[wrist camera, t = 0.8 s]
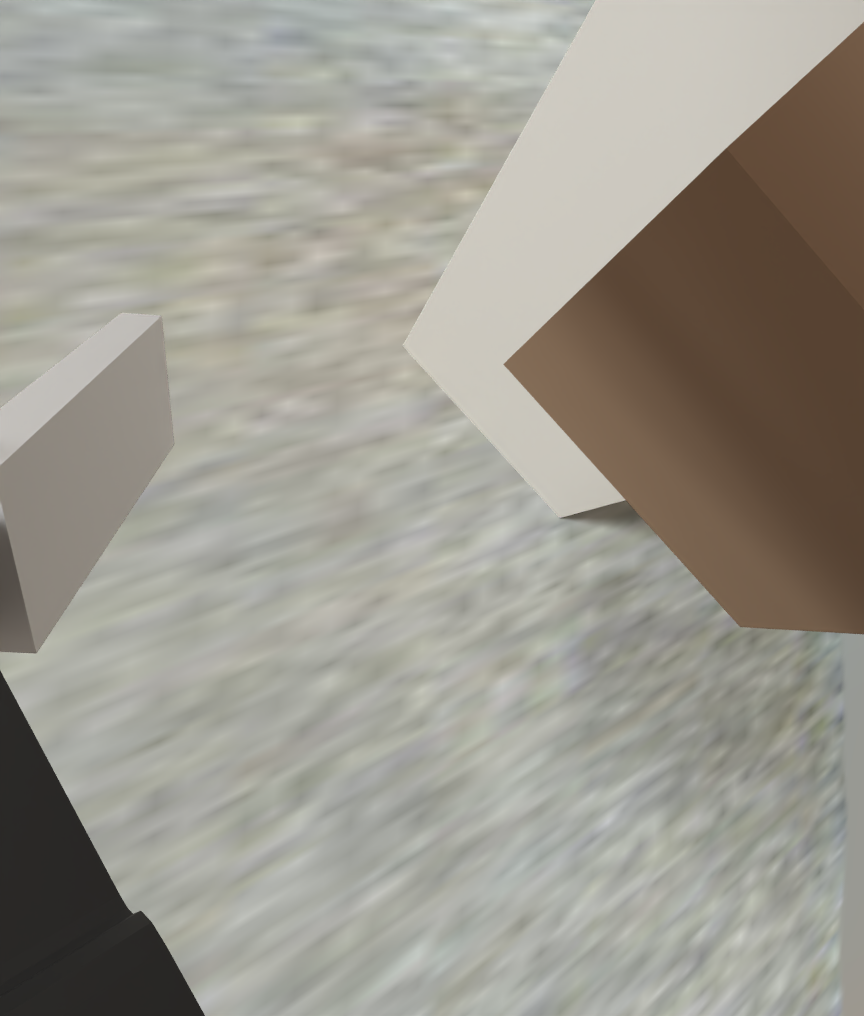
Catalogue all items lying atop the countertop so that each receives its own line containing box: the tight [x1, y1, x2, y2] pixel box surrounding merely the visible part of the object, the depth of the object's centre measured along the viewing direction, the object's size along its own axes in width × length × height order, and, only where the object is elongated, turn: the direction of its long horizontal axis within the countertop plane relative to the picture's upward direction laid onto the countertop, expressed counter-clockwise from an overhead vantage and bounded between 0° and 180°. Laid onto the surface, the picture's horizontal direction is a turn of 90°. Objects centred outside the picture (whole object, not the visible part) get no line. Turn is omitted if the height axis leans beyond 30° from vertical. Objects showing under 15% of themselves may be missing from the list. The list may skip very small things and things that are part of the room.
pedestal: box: [403, 0, 864, 518], centre depth 25 cm, size 14×12×30 cm
